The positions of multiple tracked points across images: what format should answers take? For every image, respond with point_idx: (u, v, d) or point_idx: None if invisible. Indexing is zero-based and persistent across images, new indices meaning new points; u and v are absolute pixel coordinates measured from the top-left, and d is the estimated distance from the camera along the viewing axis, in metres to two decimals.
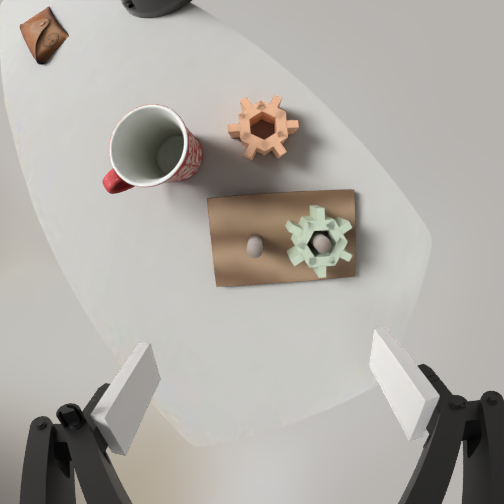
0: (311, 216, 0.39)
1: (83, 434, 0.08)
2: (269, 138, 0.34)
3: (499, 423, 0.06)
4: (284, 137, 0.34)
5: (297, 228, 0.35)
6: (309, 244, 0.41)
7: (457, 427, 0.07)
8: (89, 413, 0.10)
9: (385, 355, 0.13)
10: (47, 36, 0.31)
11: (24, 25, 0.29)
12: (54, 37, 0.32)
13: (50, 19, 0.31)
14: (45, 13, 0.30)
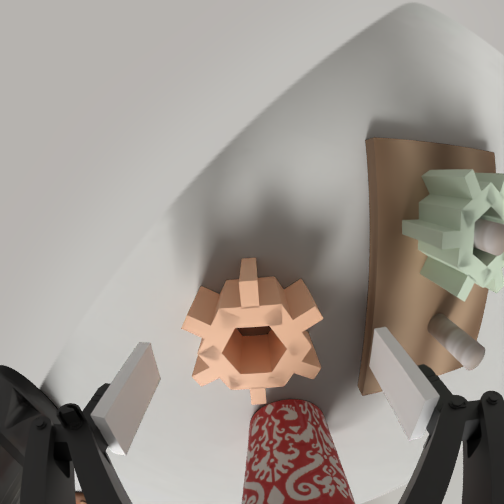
0: None
1: (83, 434, 0.08)
2: (284, 340, 0.16)
3: (499, 423, 0.06)
4: (282, 311, 0.16)
5: (463, 286, 0.14)
6: None
7: (457, 427, 0.07)
8: (88, 413, 0.10)
9: (385, 355, 0.13)
10: None
11: None
12: None
13: (81, 499, 0.29)
14: None
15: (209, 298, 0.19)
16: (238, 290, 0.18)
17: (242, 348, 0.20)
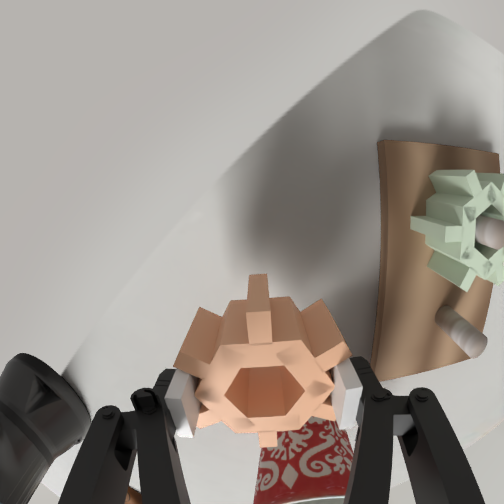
0: None
1: (155, 420, 0.09)
2: (302, 381, 0.12)
3: (435, 419, 0.08)
4: (302, 348, 0.12)
5: (466, 277, 0.15)
6: None
7: (385, 419, 0.08)
8: None
9: None
10: None
11: None
12: None
13: None
14: None
15: (209, 324, 0.16)
16: (245, 316, 0.14)
17: (249, 381, 0.16)
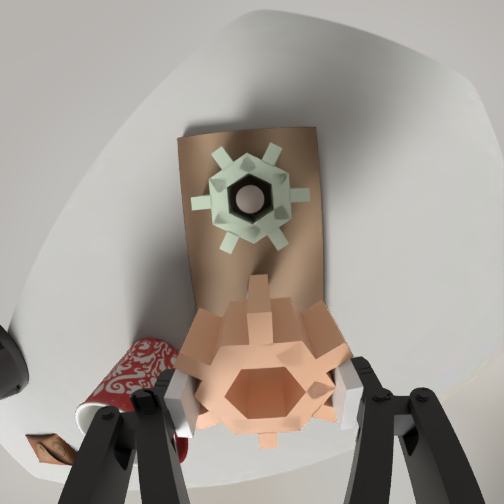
0: None
1: (155, 420, 0.09)
2: (303, 382, 0.12)
3: (436, 419, 0.08)
4: (303, 349, 0.12)
5: (225, 240, 0.22)
6: (263, 203, 0.26)
7: (386, 419, 0.08)
8: None
9: None
10: (54, 450, 0.37)
11: (40, 460, 0.37)
12: (56, 445, 0.37)
13: (38, 441, 0.38)
14: (31, 441, 0.38)
15: (209, 325, 0.15)
16: (245, 317, 0.14)
17: (249, 382, 0.16)
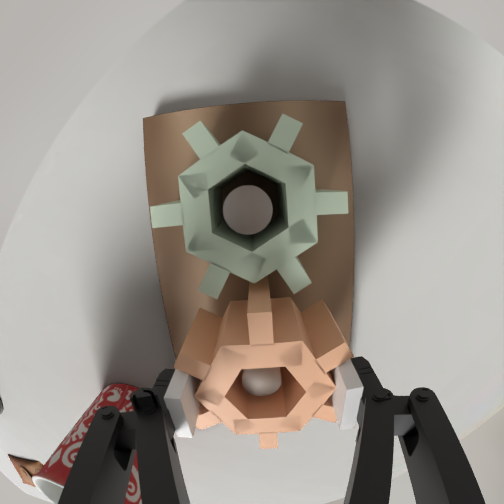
0: None
1: (154, 420, 0.09)
2: (303, 382, 0.12)
3: (436, 419, 0.07)
4: (303, 349, 0.12)
5: (207, 277, 0.13)
6: None
7: (386, 419, 0.08)
8: None
9: None
10: None
11: (24, 482, 0.29)
12: None
13: (21, 464, 0.29)
14: (14, 463, 0.29)
15: (209, 325, 0.15)
16: (245, 317, 0.14)
17: None
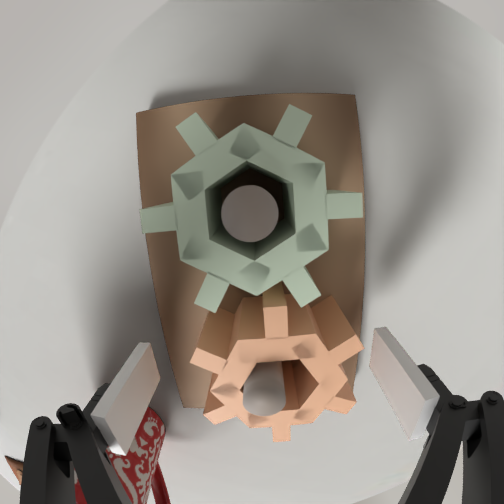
0: None
1: (83, 434, 0.08)
2: (316, 374, 0.13)
3: (499, 423, 0.06)
4: (316, 341, 0.12)
5: (204, 289, 0.12)
6: None
7: (457, 427, 0.07)
8: (88, 413, 0.10)
9: (385, 355, 0.13)
10: None
11: None
12: None
13: (18, 467, 0.28)
14: (11, 465, 0.28)
15: (223, 321, 0.16)
16: (259, 313, 0.15)
17: None
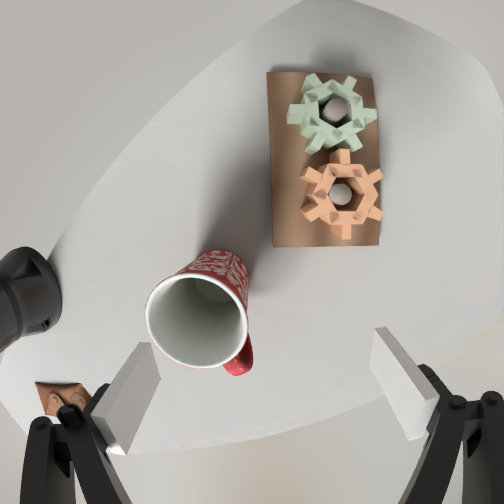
0: (300, 122, 0.29)
1: (83, 434, 0.08)
2: (363, 187, 0.26)
3: (499, 423, 0.06)
4: (362, 168, 0.26)
5: (315, 138, 0.26)
6: (335, 127, 0.30)
7: (457, 427, 0.07)
8: (89, 413, 0.10)
9: (385, 355, 0.13)
10: (73, 402, 0.41)
11: (48, 413, 0.42)
12: (77, 397, 0.42)
13: (53, 390, 0.42)
14: (42, 390, 0.43)
15: None
16: None
17: None
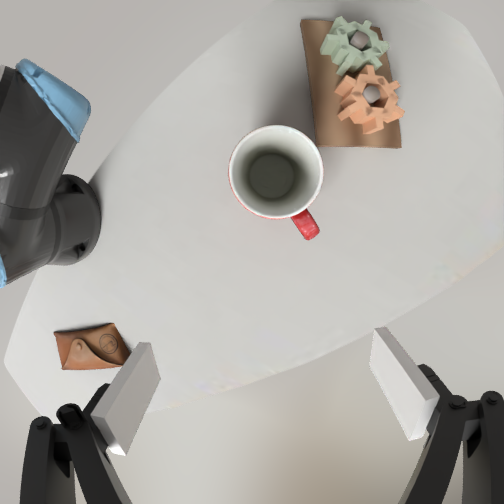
0: (332, 52, 0.32)
1: (83, 434, 0.08)
2: (387, 92, 0.30)
3: (499, 423, 0.06)
4: (384, 79, 0.29)
5: (348, 56, 0.29)
6: None
7: (457, 427, 0.07)
8: (88, 413, 0.10)
9: (385, 356, 0.13)
10: (101, 345, 0.44)
11: (66, 365, 0.44)
12: (107, 339, 0.44)
13: (77, 336, 0.44)
14: (63, 339, 0.45)
15: None
16: None
17: None
